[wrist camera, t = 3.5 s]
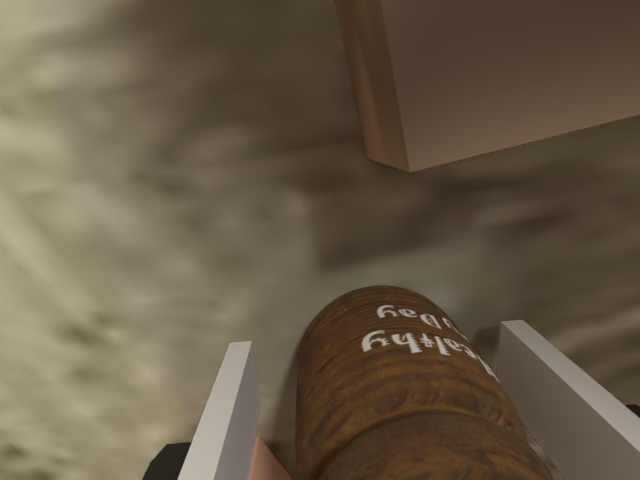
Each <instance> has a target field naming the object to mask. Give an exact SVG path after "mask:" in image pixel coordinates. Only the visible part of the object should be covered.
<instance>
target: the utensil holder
mask: <svg viewBox="0 0 640 480" xmlns="http://www.w3.org/2000/svg"><path fill="white" fill-rule="evenodd" d="M296 457H297V466H298V471H299V477H300V480H554V479H553V478H552V476H551V474H550V472H549V470H548V469H547V467H546V466H545V464H544V463H543V461H542V460H541V458H540V457H539V456H538V455H537V454H536V452H535V451H534V450H533V449H532V448H531V447H530V446H529V445H528V444H527V440H526V435H525V431H524V428H523V424H522V421H521V419H520V416H519V414H518V412H517V410H516V408H515V405H514V404H513V402H512V400H511V398H510V396H509V395H508V393H507V392H506V390H505V389H504V387H503V386H502V384H501V383H500V381H499V380H498V378H497V377H496V375H495V374H494V373H493V371H492V370H491V369H490V367H489V366H488V365H487V364H486V362H485V361H484V360H483V358H482V357H481V356H480V355H479V353H478V352H477V351H476V350H475V348H474V347H473V346H472V345H471V343H470V342H469V341H468V340H467V338H466V337H465V336H464V335H463V333H462V332H461V331H460V330H459V328H458V327H457V326H456V325H455V324H454V322H453V321H452V320H451V319H450V318H449V317H448V316H447V315H446V314H445V313H444V312H443V311H442V310H441V309H440V308H439V307H438V306H436V305H435V304H434V303H433V302H431V301H430V300H429V299H427V298H425V297H424V296H422V295H420V294H418V293H416V292H413V291H411V290H407V289H404V288H400V287H394V286H371V287H365V288H361V289H357V290H354V291H351V292H349V293H346V294H344V295H342V296H340V297H339V298H337V299H336V300H334V301H333V302H331V303H330V304H329V305H327V306H326V307H325V308H324V309H323V310H322V311H321V312H320V313H319V314H318V315H317V317H316V318H315V319H314V321H313V322H312V324H311V325H310V327H309V329H308V331H307V333H306V335H305V338H304V340H303V344H302V347H301V352H300V357H299V365H298V377H297V398H296Z"/></svg>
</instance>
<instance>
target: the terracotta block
mask: <svg viewBox="0 0 640 480" xmlns="http://www.w3.org/2000/svg"><path fill="white" fill-rule="evenodd" d="M248 480H292V478H291V477H290V476H289V475H288V473H287V472H286V471H285V469H284V468H283V467H282V466H281V464H280V463H279V462H278V460H277V459H276V458H275V456H274V455H273V454H272V453H271V451H270V450H269V449H268V447H267V446H266V445H265V443H264V442H263V441H262V440H261V438H260V437H259V436H258V437H256V438H255V443H254V449H253V454H252V460H251V466H250V471H249V477H248Z"/></svg>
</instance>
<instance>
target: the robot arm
mask: <svg viewBox="0 0 640 480" xmlns="http://www.w3.org/2000/svg"><path fill="white" fill-rule="evenodd" d="M496 377H497V378H498V380H499V381H500V383H501V384H502V386H503V387H504V389H505V390H506V392H507V393H508V395H509V396H510V398H511V400H512V402H513V404H514V405H515V408H516V410H517V412H518V414H519V416H520V419H521V421H522V423H523V424H524V425H525V427H526V428H527V429H528V431H529V432H530V433H531V435H532V436H533V437H534V439H535V440H536V441H537V443H538V444H539V445H540V447H541V448H542V449H543V451H544V452H545V453H546V455H547V456H548V457H549V458H550V460H551V461H552V462H553V464H554V465H555V466H556V468H557V469H558V470H559V472H560V473H561V474H562V476H563V477H564V478H565V480H640V407H639V406H637V405H635V404H633V405H623V404H622V403H621V402H620V401H619V400H618V399H616V398H615V397H614V396H613V395H612V394H610V393H609V392H608V391H607V390H606V389H604V388H603V387H602V386H601V385H600V384H598V383H597V382H596V381H595V380H594V379H593V378H591V377H590V376H589V375H588V374H587V373H585V372H584V371H583V370H582V369H581V368H579V367H578V366H577V365H576V364H575V363H574V362H572V361H571V360H570V359H569V358H568V357H566V356H565V355H564V354H563V353H562V352H560V351H559V350H558V349H557V348H556V347H554V346H553V345H552V344H551V343H550V342H549V341H547V340H546V339H545V338H544V337H543V336H541V335H540V334H539V333H538V332H537V331H535V330H534V329H533V328H532V327H531V326H529V325H528V324H527V323H526V322H525V321H524V320H512V321H501V328H500V339H499V350H498V362H497V373H496ZM260 409H261V402H260V395H259V388H258V381H257V374H256V367H255V360H254V353H253V346H252V341H246V342H233V343H230V344H229V346H228V349H227V352H226V354H225V357H224V359H223V362H222V365H221V367H220V370H219V373H218V375H217V378H216V380H215V383H214V386H213V388H212V391H211V393H210V396H209V399H208V401H207V404H206V407H205V409H204V412H203V414H202V417H201V420H200V422H199V425H198V427H197V430H196V433H195V435H194V438H193V440H192V442H188V443H176V444H167V445H166V446H165V447H164V448H163V449H162V450H161V451H160V453H159V454H158V455H157V456H156V457H155V458H154V459H153V460H152V461H151V463H150V465H149V467H148V469H147V471H146V473H145V475H144V477H143V479H142V480H248V477H249V471H250V466H251V460H252V454H253V449H254V443H255V437H256V432H257V426H258V420H259V414H260Z"/></svg>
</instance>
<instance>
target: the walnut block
mask: <svg viewBox="0 0 640 480" xmlns="http://www.w3.org/2000/svg"><path fill="white" fill-rule="evenodd" d="M335 3H336V8H337V13H338V18H339V23H340V28H341V33H342V38H343V43H344V48H345V52H346V57H347V62H348V67H349V72H350V77H351V82H352V87H353V92H354V97H355V102H356V107H357V112H358V117H359V122H360V127H361V131H362V136H363V141H364V146H365V151H366V156H367V158H368V159H371V160H374V161H377V162H380V163H383V164H386V165H389V166H392V167H395V168H398V169H401V170H404V171H407V172H414V171H418V170H422V169H426V168H430V167H434V166H438V165H442V164H446V163H450V162H454V161H458V160H462V159H466V158H470V157H474V156H478V155H481V154H485V153H489V152H493V151H497V150H501V149H505V148H509V147H513V146H517V145H521V144H525V143H529V142H533V141H537V140H541V139H545V138H549V137H553V136H557V135H561V134H565V133H569V132H573V131H577V130H581V129H585V128H589V127H593V126H597V125H601V124H605V123H609V122H613V121H617V120H621V119H625V118H629V117H633V116H637V115H640V0H335Z"/></svg>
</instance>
